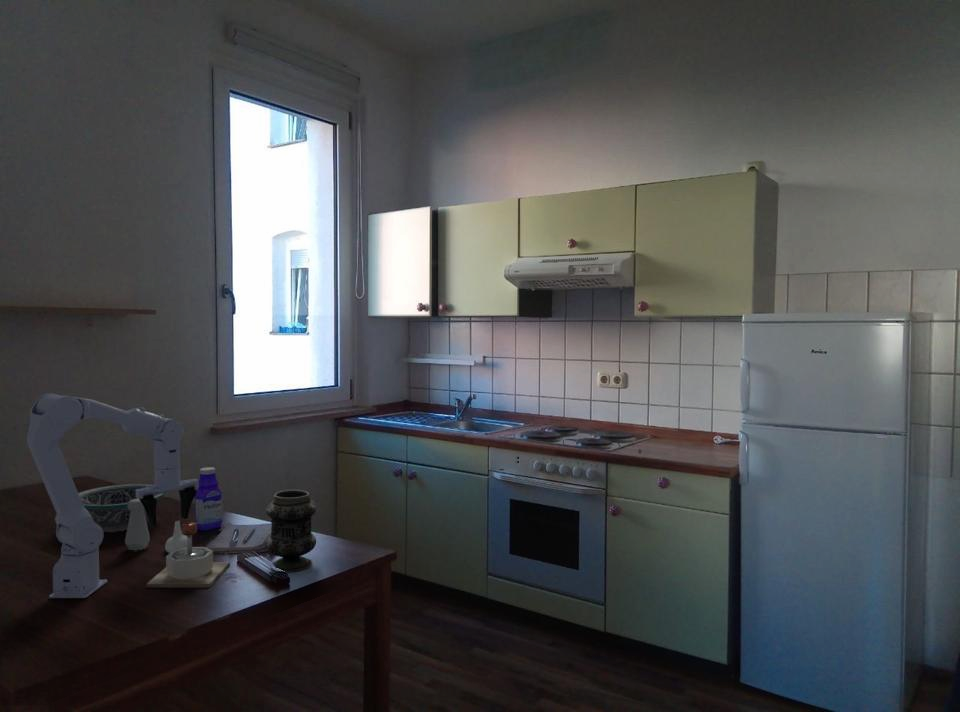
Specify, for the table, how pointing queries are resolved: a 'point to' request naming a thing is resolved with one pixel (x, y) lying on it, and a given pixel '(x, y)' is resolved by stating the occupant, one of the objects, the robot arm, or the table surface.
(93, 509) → the bowl
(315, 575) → the table surface
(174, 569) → the press carafe
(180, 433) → the robot arm
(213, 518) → the bottle
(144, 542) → the salt shaker
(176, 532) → the garlic bulb
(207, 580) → the board
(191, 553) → the plunger
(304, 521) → the apothecary jar
